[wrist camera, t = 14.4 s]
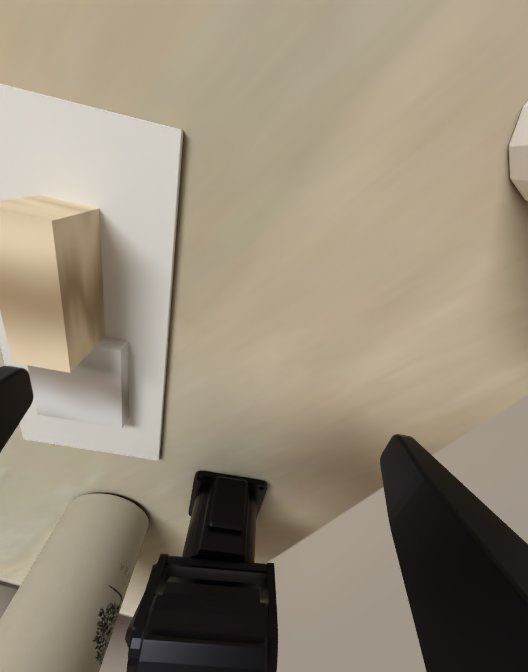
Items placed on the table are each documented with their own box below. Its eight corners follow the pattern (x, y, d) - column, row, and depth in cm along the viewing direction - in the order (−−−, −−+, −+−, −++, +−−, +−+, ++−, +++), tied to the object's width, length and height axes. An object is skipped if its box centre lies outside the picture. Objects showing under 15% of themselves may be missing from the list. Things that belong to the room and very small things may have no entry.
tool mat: (159, 456, 26) (158, 460, 26) (26, 435, 25) (23, 439, 25) (183, 130, 15) (181, 129, 14) (-61, 68, 14) (-70, 65, 13)
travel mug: (68, 526, 32) (-126, 872, 16) (71, 481, 28) (-176, 873, 13) (143, 541, 33) (30, 877, 18) (156, 500, 30) (26, 881, 14)
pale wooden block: (128, 417, 24) (104, 461, 20) (48, 403, 23) (8, 446, 20) (127, 214, 16) (88, 228, 13) (10, 188, 16) (-64, 195, 12)
